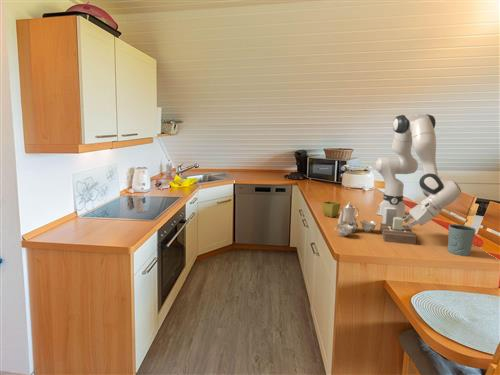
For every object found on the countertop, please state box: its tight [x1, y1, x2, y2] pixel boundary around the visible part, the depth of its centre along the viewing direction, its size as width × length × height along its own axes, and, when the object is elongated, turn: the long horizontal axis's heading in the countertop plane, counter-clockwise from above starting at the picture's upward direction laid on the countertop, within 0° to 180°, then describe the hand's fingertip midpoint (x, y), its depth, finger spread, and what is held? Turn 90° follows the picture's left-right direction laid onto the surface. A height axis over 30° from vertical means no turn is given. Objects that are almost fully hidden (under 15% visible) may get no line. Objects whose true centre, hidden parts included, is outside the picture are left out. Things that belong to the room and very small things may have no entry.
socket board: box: [379, 222, 417, 245], centre depth 164 cm, size 20×14×4 cm
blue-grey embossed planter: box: [447, 223, 476, 257], centre depth 142 cm, size 10×10×12 cm
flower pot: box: [321, 200, 341, 218], centre depth 204 cm, size 9×9×9 cm
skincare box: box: [381, 207, 397, 224], centre depth 178 cm, size 6×4×12 cm
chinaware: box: [333, 201, 378, 238], centre depth 170 cm, size 28×17×17 cm, turn 123°
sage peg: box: [392, 217, 404, 231], centre depth 164 cm, size 4×4×10 cm
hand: (406, 223), depth 162 cm, fingers open, 8 cm apart
